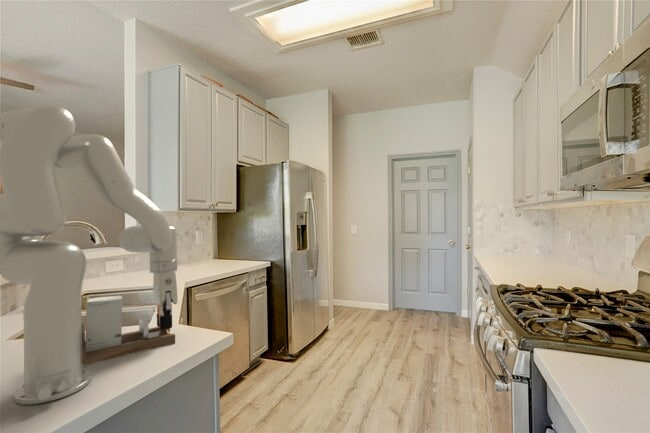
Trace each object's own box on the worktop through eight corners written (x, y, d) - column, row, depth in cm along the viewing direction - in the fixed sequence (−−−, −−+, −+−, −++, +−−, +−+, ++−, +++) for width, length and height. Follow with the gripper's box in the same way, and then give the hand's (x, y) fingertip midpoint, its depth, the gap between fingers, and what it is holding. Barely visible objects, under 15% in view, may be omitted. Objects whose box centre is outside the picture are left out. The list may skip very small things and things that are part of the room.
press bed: (175, 343, 95) (174, 315, 95) (73, 367, 80) (72, 334, 81) (165, 332, 104) (164, 307, 105) (72, 352, 90) (71, 323, 90)
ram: (173, 340, 97) (172, 303, 97) (143, 347, 92) (143, 308, 92) (167, 334, 103) (166, 299, 103) (139, 340, 98) (138, 304, 98)
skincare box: (84, 359, 85) (84, 302, 85) (87, 352, 90) (86, 298, 90) (122, 352, 89) (122, 297, 89) (122, 345, 94) (122, 294, 94)
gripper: (184, 267, 95) (185, 331, 95) (170, 263, 108) (170, 318, 108) (156, 270, 90) (157, 337, 90) (144, 265, 103) (145, 323, 103)
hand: (164, 326), depth 99 cm, fingers open, 3 cm apart
